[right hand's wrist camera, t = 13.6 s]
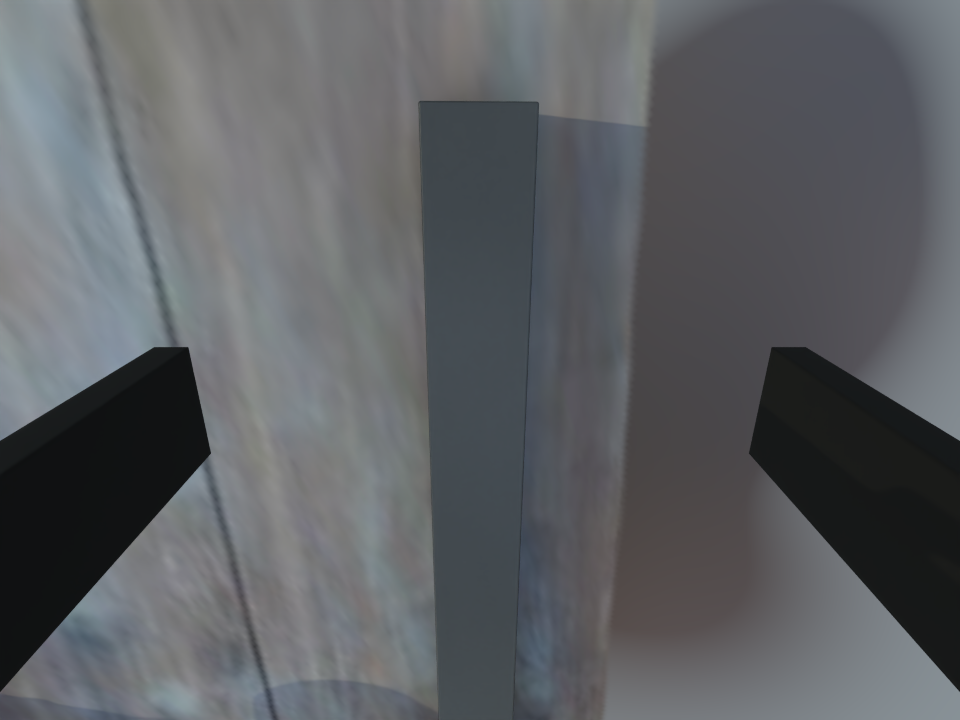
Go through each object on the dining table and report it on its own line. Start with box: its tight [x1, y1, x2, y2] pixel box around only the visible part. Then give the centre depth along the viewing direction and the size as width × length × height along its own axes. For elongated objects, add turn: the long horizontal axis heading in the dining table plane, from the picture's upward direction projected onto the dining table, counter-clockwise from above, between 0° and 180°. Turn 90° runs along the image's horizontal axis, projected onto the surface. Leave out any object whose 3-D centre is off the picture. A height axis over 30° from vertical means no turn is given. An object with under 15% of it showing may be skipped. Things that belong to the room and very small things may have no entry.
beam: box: [418, 101, 539, 720], centre depth 42 cm, size 71×6×8 cm, turn 0°
